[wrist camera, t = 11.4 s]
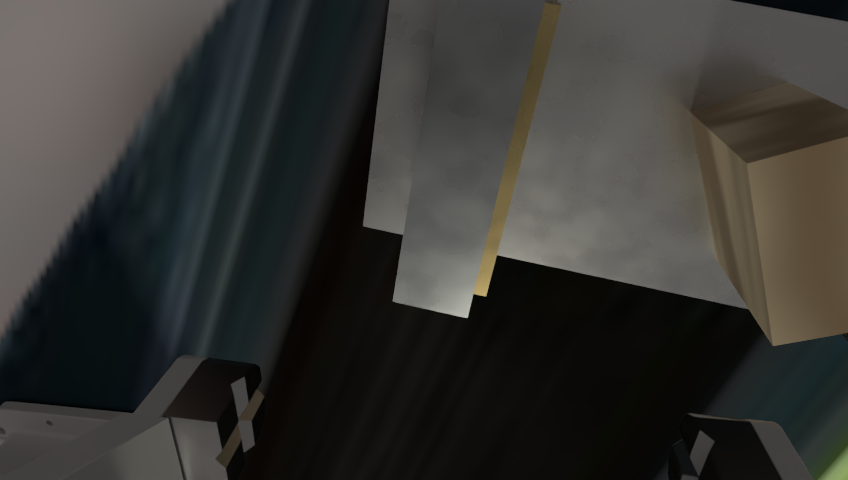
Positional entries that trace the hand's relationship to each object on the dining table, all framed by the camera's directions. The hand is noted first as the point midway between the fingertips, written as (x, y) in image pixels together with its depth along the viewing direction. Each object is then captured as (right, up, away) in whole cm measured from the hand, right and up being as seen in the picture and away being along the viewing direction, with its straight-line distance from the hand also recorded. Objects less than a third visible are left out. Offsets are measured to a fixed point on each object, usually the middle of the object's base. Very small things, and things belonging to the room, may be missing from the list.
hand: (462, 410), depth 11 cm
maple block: (+15, +6, +15) cm, 22 cm away
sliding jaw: (+2, +9, +15) cm, 18 cm away
